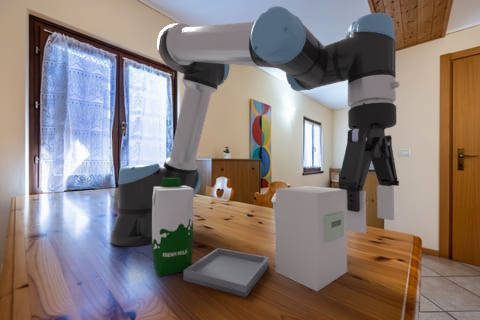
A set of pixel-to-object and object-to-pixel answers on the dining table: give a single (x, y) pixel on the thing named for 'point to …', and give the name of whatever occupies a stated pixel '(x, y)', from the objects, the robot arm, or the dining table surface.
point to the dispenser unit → (311, 234)
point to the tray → (227, 271)
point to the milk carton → (172, 227)
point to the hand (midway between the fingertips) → (372, 224)
